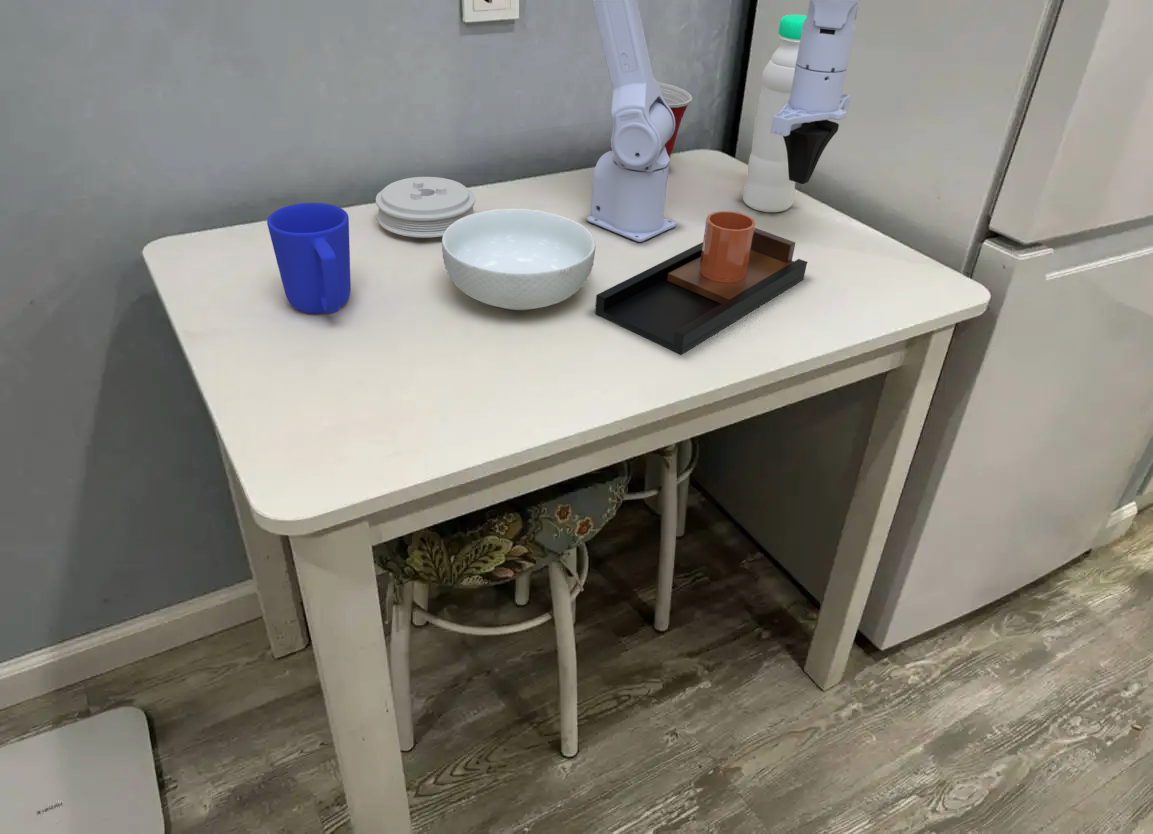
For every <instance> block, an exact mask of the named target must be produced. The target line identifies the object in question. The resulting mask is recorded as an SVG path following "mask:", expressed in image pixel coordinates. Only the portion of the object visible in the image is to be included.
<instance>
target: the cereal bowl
mask: <svg viewBox="0 0 1153 834" xmlns="http://www.w3.org/2000/svg"><path fill="white" fill-rule="evenodd" d="M441 238H442V239H441V251H442V252H441V253H442V259H443V264H444V267H445V270H446V273H447V275H448V276H449V278H450V280H451V281H452V282H453V284H455V286H456V287H457V288H458V289H459V290H460V291H461V292H463V293H464V294H465V295H466V296H468V297H469V298H472V299H474V300H476V301H478V302H480V303H483V304H486V305H490V306H491V307H492V306H493V307H497V308H500V309H503V310H510V311H530V310H534V309H541V308H546V307H550V306H552V305H556V304H559V303H561V302H563V301H566V300H567V299H569V298H570V297H572V296H574V294H576V293H577V292H578V291H579V290H581V288H582V287H583V286H584V285H585V284H586V282H587V281H588V279H589V277H590V275H591V272H592V269H593V266H594V262H595V261H594V260H595V257H596V256H595V255H596V249H597V248H596V247H597V245H596V240H595V238H594V236H593V234H592V232H590V230H588V229H587V228H586V227H585V226H584V225H582V224H581V223H580V222H577V221H576V220H573V219H572V218H569V217H567V216H563V215H562V214H558V213H554V212H549V211H545V210H540V209H531V208H496V209H489V210H483V211H479V212H475V213H474V214H471V215H468V216H466V217H463V218H461V219H459V220H457V221H456V222H454V223H453V224H451V225H450V226H449V227H448V228H447V229H446V230H445V232H444V234H443V236H441Z"/></svg>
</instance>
